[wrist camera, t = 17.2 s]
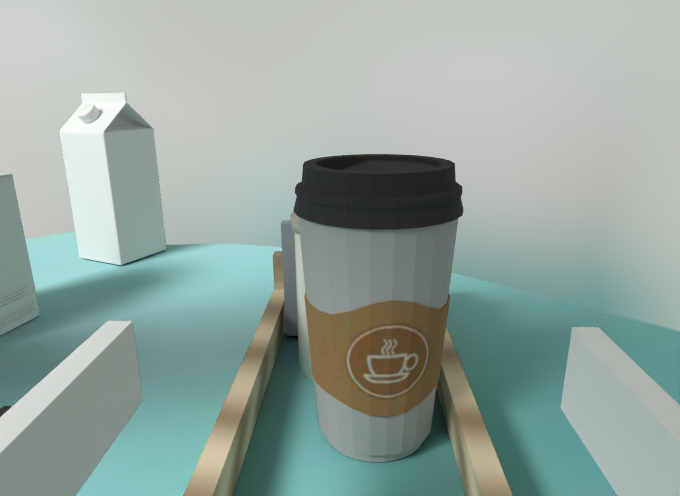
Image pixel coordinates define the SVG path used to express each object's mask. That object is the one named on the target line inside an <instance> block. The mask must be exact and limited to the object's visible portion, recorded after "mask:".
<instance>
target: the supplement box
mask: <svg viewBox="0 0 680 496" xmlns="http://www.w3.org/2000/svg"><path fill="white" fill-rule="evenodd" d="M39 314H40V311H39V306H38V301H37V296H36V291H35V286H34V281H33V276H32V271H31V266H30V261H29V256H28V251H27V246H26V242H25V237H24V231H23V226H22V222H21V217H20V212H19V207H18V201H17V197H16V192H15V187H14V181H13V176H12V174H10V173H9V174H8V173H2V174H1V173H0V336H1V335H2V334H4V333H6V332H8V331H10V330H12V329H14V328H16V327H18V326H20V325H22V324H24V323H26V322H28V321H30V320H32V319H34V318H35V317H37V316H38V315H39Z"/></svg>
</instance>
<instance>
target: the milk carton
mask: <svg viewBox="0 0 680 496" xmlns="http://www.w3.org/2000/svg"><path fill="white" fill-rule="evenodd" d="M81 98H82V104H81V106H80V107H79V108H78V109H77V110H76V112H75V113H74V114H73V115H72V116H71V118H70V119H69V120H68V121H67V123H66V124H65V125H64V126H63V127H62V128H61V130H60V137H61V143H62V150H63V156H64V162H65V168H66V174H67V181H68V187H69V194H70V200H71V206H72V212H73V218H74V225H75V231H76V237H77V244H78V250H79V256H80V258H84V259H89V260H95V261H100V262H105V263H111V264H116V265H123V264H126V263H129V262H132V261H135V260H137V259H140V258H143V257H146V256H149V255H152V254H155V253H158V252H160V251H163V250H166V240H165V231H164V222H163V213H162V203H161V194H160V187H159V186H160V185H159V176H158V167H157V158H156V149H155V141H154V130H153V128H152V127H151V126H150V125H149V124H148V123H147V122H146V121H145V120H144V119H143V118H142V117H141V116H140V115H139V114H138V113H137V112H136V111H135V110H134V109H133V108H132V107H130V105H129V104H128V103H127V99H126V93H97V94H81Z"/></svg>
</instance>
